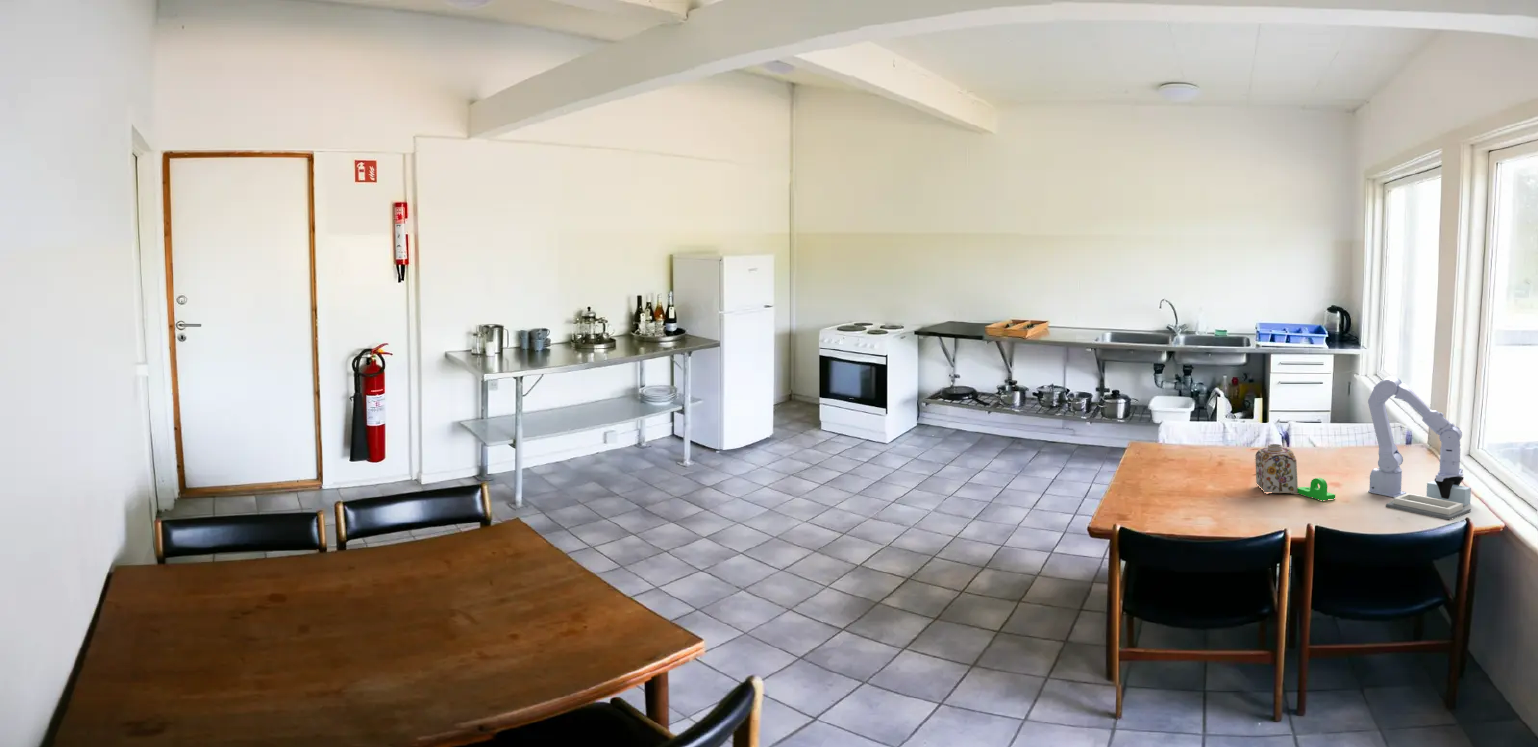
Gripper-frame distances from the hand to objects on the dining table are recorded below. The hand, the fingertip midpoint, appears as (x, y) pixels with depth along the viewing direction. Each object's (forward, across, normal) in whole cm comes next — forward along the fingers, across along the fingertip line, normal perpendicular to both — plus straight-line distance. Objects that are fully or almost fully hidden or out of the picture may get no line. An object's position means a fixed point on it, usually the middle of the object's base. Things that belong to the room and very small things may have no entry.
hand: (1448, 496), depth 321 cm
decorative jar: (+2, -30, +45) cm, 54 cm away
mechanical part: (+2, -27, +32) cm, 42 cm away
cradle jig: (+2, -14, 0) cm, 14 cm away
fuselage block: (+2, 0, 0) cm, 2 cm away
